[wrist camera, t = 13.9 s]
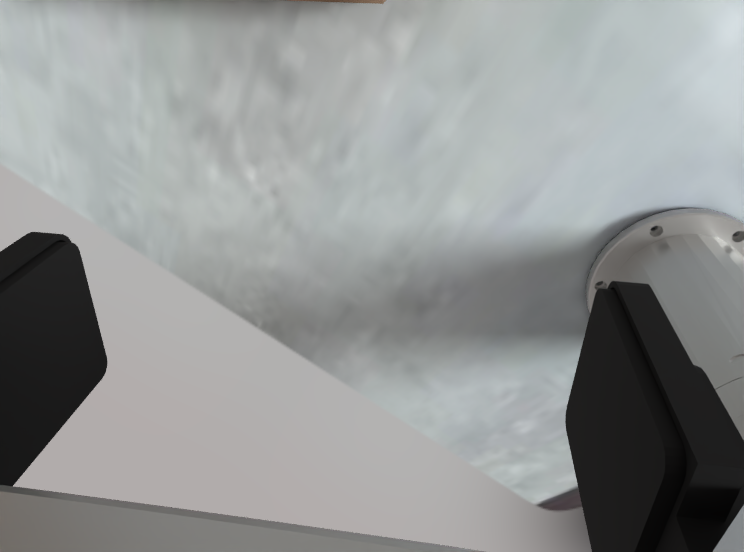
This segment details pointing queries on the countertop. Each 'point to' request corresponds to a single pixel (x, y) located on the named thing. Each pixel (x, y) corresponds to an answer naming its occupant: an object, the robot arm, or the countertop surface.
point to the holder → (351, 0)
